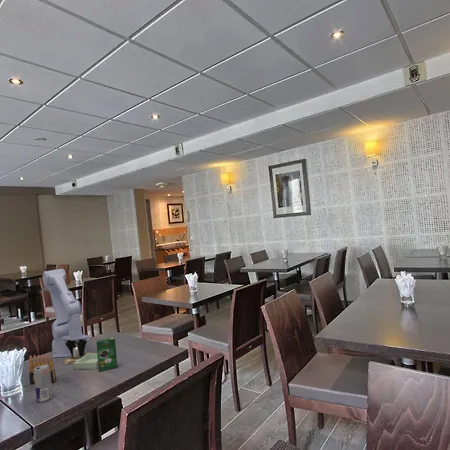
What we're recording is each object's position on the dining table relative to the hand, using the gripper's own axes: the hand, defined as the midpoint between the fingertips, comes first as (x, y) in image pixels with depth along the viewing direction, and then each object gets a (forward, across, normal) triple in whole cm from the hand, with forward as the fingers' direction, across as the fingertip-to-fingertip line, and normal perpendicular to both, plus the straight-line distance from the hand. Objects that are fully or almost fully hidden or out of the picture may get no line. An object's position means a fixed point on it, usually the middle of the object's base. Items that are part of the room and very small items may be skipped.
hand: (77, 355), depth 163 cm
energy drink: (+2, -12, +35) cm, 37 cm away
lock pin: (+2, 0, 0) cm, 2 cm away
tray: (+2, -11, +5) cm, 13 cm away
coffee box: (+2, -23, +10) cm, 25 cm away
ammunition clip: (+2, 0, +23) cm, 23 cm away
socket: (+2, 0, 0) cm, 2 cm away
